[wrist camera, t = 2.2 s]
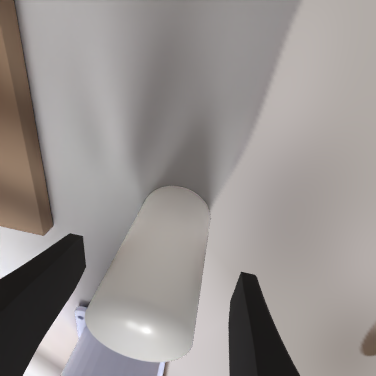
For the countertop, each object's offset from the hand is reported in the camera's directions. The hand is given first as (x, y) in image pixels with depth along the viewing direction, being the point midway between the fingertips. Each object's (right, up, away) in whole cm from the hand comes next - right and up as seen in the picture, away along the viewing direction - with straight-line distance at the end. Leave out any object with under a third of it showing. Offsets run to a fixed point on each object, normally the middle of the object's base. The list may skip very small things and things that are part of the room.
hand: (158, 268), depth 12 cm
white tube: (+1, +2, +4) cm, 4 cm away
